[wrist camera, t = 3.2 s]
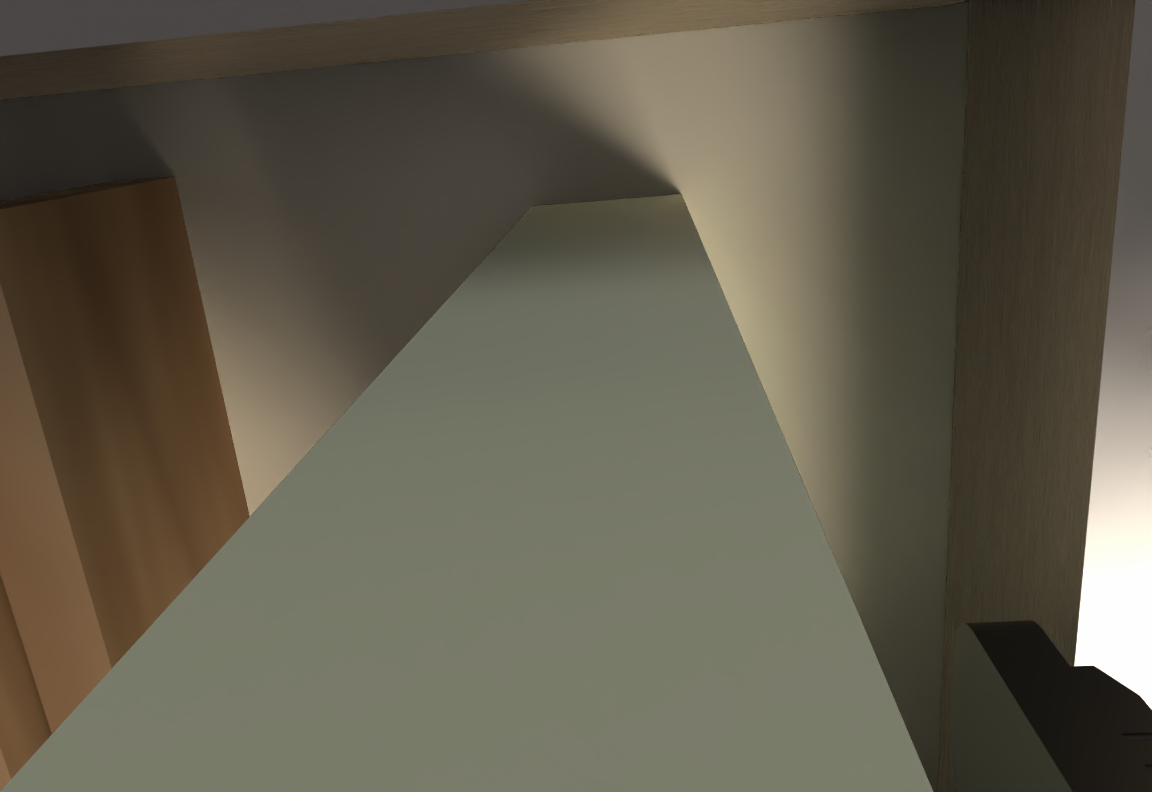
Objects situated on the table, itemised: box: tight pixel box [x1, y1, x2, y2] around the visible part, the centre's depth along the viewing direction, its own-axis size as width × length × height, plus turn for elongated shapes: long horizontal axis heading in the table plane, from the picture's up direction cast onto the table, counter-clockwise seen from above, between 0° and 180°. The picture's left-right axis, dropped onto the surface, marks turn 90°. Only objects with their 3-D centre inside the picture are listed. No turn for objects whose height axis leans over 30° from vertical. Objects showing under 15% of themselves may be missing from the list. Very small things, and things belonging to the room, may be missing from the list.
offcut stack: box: [0, 177, 249, 791], centre depth 15 cm, size 4×12×6 cm, turn 5°
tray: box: [0, 0, 1152, 792], centre depth 14 cm, size 22×18×7 cm
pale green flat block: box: [0, 194, 933, 792], centre depth 10 cm, size 2×10×14 cm, turn 5°
